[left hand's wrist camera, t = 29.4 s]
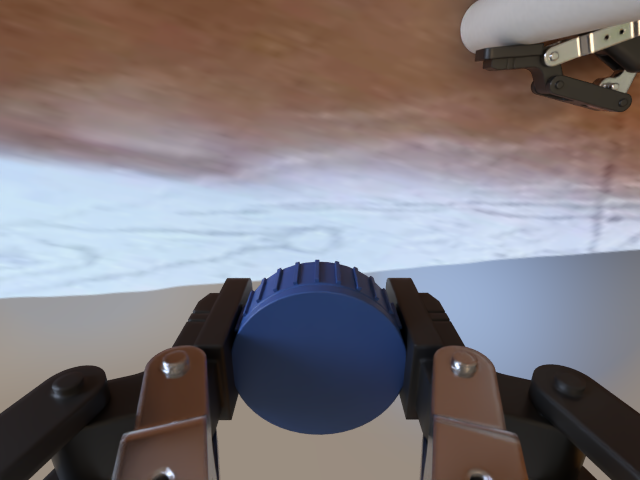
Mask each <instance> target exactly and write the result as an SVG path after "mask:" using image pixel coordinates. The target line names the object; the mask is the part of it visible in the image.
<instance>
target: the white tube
mask: <svg viewBox="0 0 640 480" xmlns="http://www.w3.org/2000/svg"><path fill="white" fill-rule="evenodd" d="M638 20H640V0H478V1H476V2H475V3H474V4H472V5H471V6H470V7H469V9H468V10H467V11H466V13H465V15H464V17H463V20H462V23H461V38H462V41H463V43H464V45H465V47H466V48H467V49H468V50H469V51H470V52H472V53H474V54H476V50H479V49H483V48H489V47H501V46H513V45H526V44H536V43H540V42H545V41H549V40H554V39H558V38H563V37H567V36H571V35H576V34H580V33H585V32H589V31H594V30H598V29H603V28H607V27H611V26H616V25H620V24H625V23H629V22H634V21H638Z"/></svg>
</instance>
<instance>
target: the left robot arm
mask: <svg viewBox="0 0 640 480" xmlns="http://www.w3.org/2000/svg"><path fill="white" fill-rule="evenodd" d="M251 291H252V282H251V279H250V278H227V279H226V281H225V283H224V285H223V287H222V289H221V291H220V293H210V294H208V295H207V296H206V297H204V298H203V299H202V300H200V301H199V302H198V304H197V305H196V307H195V309H194V311H193V313H192V314H191V316H190V317H189V319H188V322H187V323H186V324H185V326H184V328H183V329H182V331H181V333H180V335H179V336H178V338H177V340H176V341H175V343H174V345H173V347H172V348H169V349H166V350H164V351H162V352H160V353H158V354H157V355H155V356H154V357H153V358H152V359H151V360H150V361H149V362H148V363H147V365H146V367H145V371H144V372H141V373H138V374H135V375H131V376H126V377H122V378H117V379H112V380H108V381H107V378H106V374H105V372H104V371H103V369H101V368H99V367H97V366H78V367H74V368H70V369H67V370H64V371H62V372H60V373H58V374H56V375H54V376H52V377H50V378H49V379H47V380H46V381H44V382H43V383H42V384H40V385H39V386H38V387H36V388H35V389H33V390H32V391H31V392H29V393H28V394H27V395H25V396H24V397H22V398H21V399H20V400H18V401H17V402H16V403H14V404H13V405H11V406H10V407H9V408H7V409H6V410H5V411H3V412H2V413H1V414H0V480H29V479H30V478H31V477H32V476H33V475H34V474H35V473H36V472H37V471H38V470H39V469H40V468H41V467H42V466H44V465H45V464H46V463H47V462H48V461H49V460H50V459H52V462H53V465H54V467H55V468H54V469H53V470H52V471H51V472H50V473H49V474H48V475H47V476H46V477H45V478H44V479H43V480H220V466H219V450H218V438H217V431H216V427H217V424H218V421H219V420H231V419H232V416H233V412H234V408H235V405H236V401H237V397H238V394H239V393H238V391H237V389H236V387H235V383H234V374H233V364H232V354H231V350H232V346H233V342H234V339H235V336H236V334H237V332H235V331H234V330H235V327H236V324H237V322H238V319H239V316H240V313H241V311H242V308H243V305H246V304H247V301H248V298H249V295H250V292H251ZM386 292H387V295H388V298H389V301H390V303H394V305H395V308H396V311H397V314H398V316H399V319H400V322H401V325H402V329H400V332H401V335H402V338H403V340H404V343H405V346H406V361H405V371H404V381H403V387H402V389H401V391H400V393H399V394H400V398H401V402H402V405H403V409H404V413H405V417H406V419H419V422H420V425H421V429H422V432H423V438H422V450H421V466H420V480H597V479H596V478H595V477H594V476H593V475H592V474H591V473H590V472H589V471H588V470H587V469H586V468H585V467H583V466H582V465H583V462H584V460H585V457H586V456H587V457H588V458H589V459H590V460H591V461H592V462H593V463H594V464H595V465H596V466H597V467H599V468H600V469H601V470H602V471H603V472H604V473H605V474H606V475H607V476H608V477H609V478H610V479H611V480H640V414H639V413H638V412H637V411H635V410H634V409H633V408H631V407H630V406H628V405H627V404H626V403H624V402H623V401H622V400H620V399H619V398H618V397H616V396H615V395H613V394H612V393H611V392H609V391H608V390H606V389H605V388H604V387H602V386H601V385H600V384H598V383H597V382H595V381H594V380H593V379H591V378H590V377H588V376H587V375H585V374H583V373H581V372H579V371H577V370H574V369H572V368H569V367H565V366H560V365H553V364H551V365H550V364H549V365H542V366H539V367H537V368H536V369H535V370H534V373H533V376H532V380H527V379H522V378H518V377H513V376H509V375H505V374H501V373H498V372H496V371H495V367H494V365H493V364H492V362H491V361H490V360H489V359H488V358H487V357H486V356H485V355H483V354H482V353H480V352H478V351H476V350H474V349H471V348H468V347H465V345H464V344H463V342H462V340H461V338H460V337H459V335H458V333H457V332H456V330H455V328H454V326H453V325H452V323H451V322H450V320H449V318H448V316H447V314H446V313H445V311H444V309H443V307H442V305H441V304H440V302H439V301H438V300H437V299H435V298H434V297H433V296H431V295H430V294H429V293H418V291H417V289H416V287H415V285H414V283H413V281H412V279H411V278H388V279H387V282H386Z"/></svg>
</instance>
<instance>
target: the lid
mask: <svg viewBox="0 0 640 480" xmlns="http://www.w3.org/2000/svg"><path fill="white" fill-rule="evenodd" d="M400 329H402V325H401V322H400V319H399V316H398V314H397V311H396V308H395V305H394V303H390V301H389V298H388V295H387V292H386V290H385V289H384V288H383V289H381V288H380V287H379V286H378V285H377V284H376V283H375V282H374V278H373V277H372V276H370V277H367V276H366V275H364V274H363V273H361V272H359V271H358V268H356V267H354V268H353V269H352V268H350V267H347V266H344V265H340V264H339V262H337V261H335V263H329V262H319V260H315V262H309V263H302V264H300V262H297V263H296V264H295V265H294V266H291V267H288V268H285V269H283V270H282V269H281V268H280V269H278V270H277V273H275V274H274V275H272V276H271V277H269V278H268V279H266V278H264V279H263V280H262V282H261V285H260V286H259V287H258V288H257V289H256V290H255V292H254V291H253V290H252V291H251V292H250V295H249V298H248V301H247V304H246V305H243V308H242V311H241V313H240V316H239V319H238V322H237V324H236V327H235V330H234V331H235V332H237V334H236V336H235V339H234V342H233V346H232V350H231V354H232V364H233V374H234V383H235V387H236V389H237V391H238V393H239V395H240V396H241V398H242V399H243V400H244V402H245V403H246V404H247V405H248V406H249V407H250V408H251V409H252V410H253V411H254V412H255V413H256V414H258V415H259V416H260V417H262V418H263V419H265V420H267V421H268V422H270V423H272V424H274V425H276V426H278V427H281V428H283V429H287V430H289V431H294V432H298V433H304V434H318V435H323V434H334V433H339V432H345V431H348V430H352V429H355V428H357V427H360V426H362V425H364V424H366V423H368V422H370V421H372V420H373V419H375V418H376V417H378V416H379V415H380V414H382V413H383V412H384V411H385V410H386V409H387V408H388V407H389V406H390V405H391V404H392V403H393V402H394V400H395V399H396V397H397V396H398V394H399V393H400V391H401V389H402V387H403V381H404V371H405V361H406V346H405V343H404V340H403V338H402V335H401V332H400Z"/></svg>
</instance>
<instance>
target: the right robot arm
mask: <svg viewBox="0 0 640 480" xmlns="http://www.w3.org/2000/svg"><path fill="white" fill-rule="evenodd" d="M543 46H544V43H539V44H526V45H513V46H501V47H489V48H483V49H479V50H476V54H475V61H483V69H486V70H489V71H495V70H508V69H521V68H525V69H528V70H529V71H530V72H531V73H532V76H533V82H532V84H531V90H532V92H533V93H534V94H537V95H541V96H544V97H548V98H552V99H555V100H559V101H563V102H566V103H570V104H573V105H577V106H581V107H584V108H588V109H592V110H597V111H610V112H623V111H625V110H627V109H628V108H629V107H630V105H631V102H632V98H631V96H630V95H629V94H627V91H628V89H629V87H630V85H631V83H632V81H633V79H634V77H635V75H636V73H638V72H640V20H638V21H634V22H629V23H625V24H620V25H616V26H611V27H607V28H603V29H598V30H594V31H589V32H585V33H580V34H576V35H571V36H568V37H566V38H563V39H560V40H558V41H557V42H554V43H552V44H549V45H546V46H544V47H543ZM591 53H593V54H595V55H596V56H597V57H598V58H599V59H601V60H602V61H603V62H604V63H605V64H606V65H608V66H609V67H610V68H611V69H612V70H614V73H613V74H612V75H611V76H610V77H608V78H598V79H596V80H595V81H594V82H593V83H592V84H591V83H588V82H584V81H581V80H577V79H574V78H570V77H567V76H563V73H562V68H561V63H564V62H567V61H570V60H572V59H575V58H578V57H580V56H584V55H588V54H591Z"/></svg>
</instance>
